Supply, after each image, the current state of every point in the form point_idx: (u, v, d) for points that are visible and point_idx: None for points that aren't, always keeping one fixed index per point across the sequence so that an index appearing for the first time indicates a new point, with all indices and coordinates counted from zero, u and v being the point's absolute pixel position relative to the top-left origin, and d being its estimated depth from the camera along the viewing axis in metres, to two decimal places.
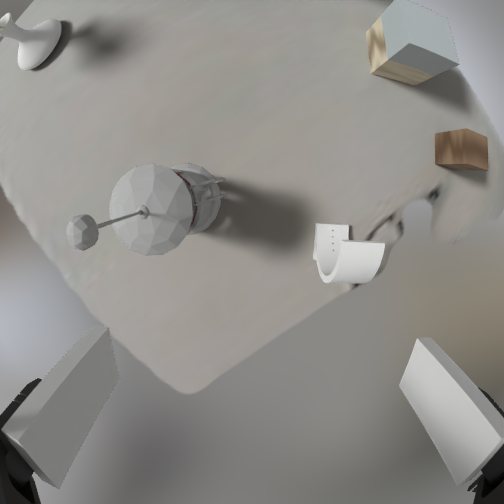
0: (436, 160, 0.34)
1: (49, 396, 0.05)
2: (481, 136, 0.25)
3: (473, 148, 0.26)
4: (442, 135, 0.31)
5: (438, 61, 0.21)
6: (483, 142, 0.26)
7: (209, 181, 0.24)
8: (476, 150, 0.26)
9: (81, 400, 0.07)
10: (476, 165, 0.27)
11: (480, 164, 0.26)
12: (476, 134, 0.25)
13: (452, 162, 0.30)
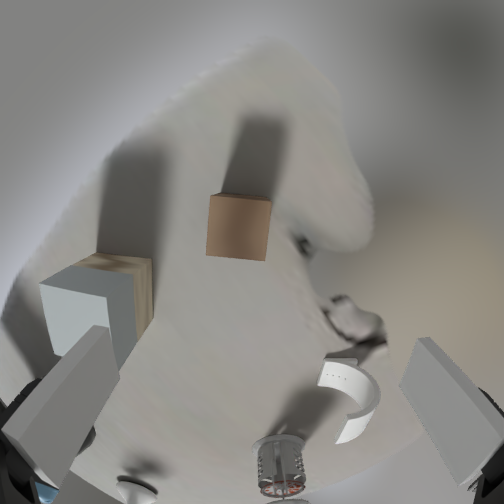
0: None
1: (49, 396, 0.05)
2: (212, 214, 0.22)
3: (237, 242, 0.23)
4: None
5: (117, 315, 0.22)
6: (222, 209, 0.22)
7: (273, 487, 0.28)
8: (240, 234, 0.23)
9: (81, 400, 0.07)
10: (265, 236, 0.23)
11: (262, 225, 0.23)
12: (211, 228, 0.23)
13: None
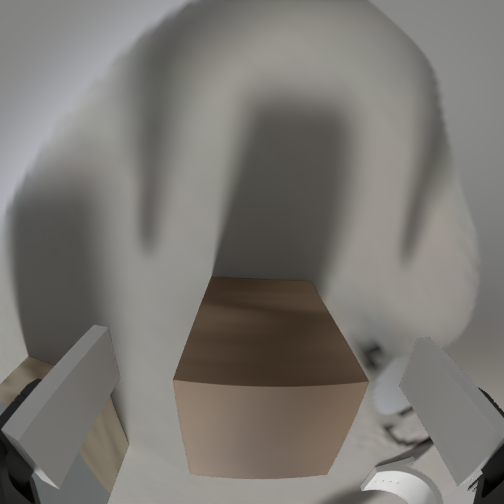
0: None
1: (49, 396, 0.05)
2: (188, 419, 0.06)
3: (266, 461, 0.07)
4: None
5: None
6: (217, 412, 0.06)
7: None
8: (272, 451, 0.07)
9: (81, 400, 0.07)
10: (337, 445, 0.07)
11: (333, 431, 0.07)
12: (192, 443, 0.07)
13: None
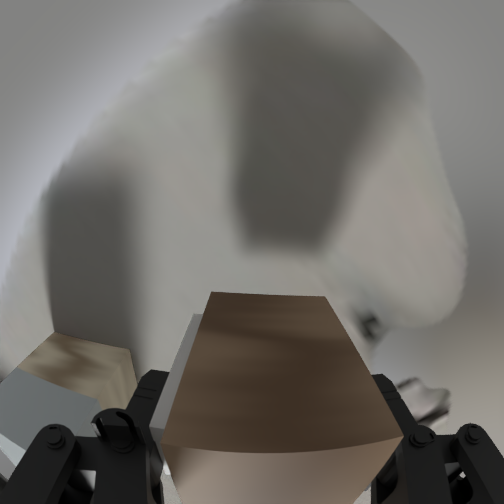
0: None
1: None
2: (182, 478, 0.04)
3: None
4: None
5: None
6: (218, 474, 0.04)
7: None
8: (282, 503, 0.05)
9: None
10: (356, 493, 0.05)
11: (355, 483, 0.05)
12: (189, 496, 0.05)
13: None
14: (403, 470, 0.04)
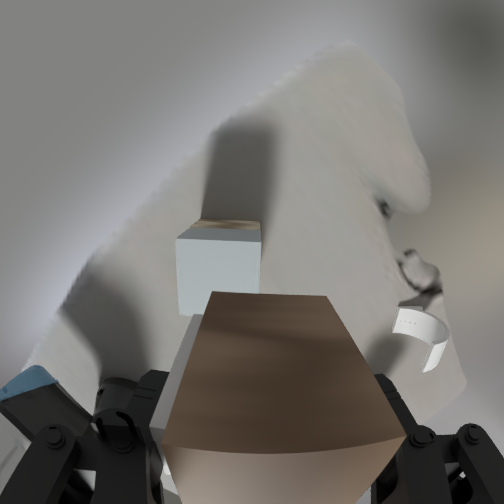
0: None
1: None
2: (183, 479, 0.04)
3: None
4: None
5: None
6: (219, 475, 0.04)
7: None
8: None
9: None
10: (358, 494, 0.05)
11: (357, 483, 0.05)
12: (189, 497, 0.05)
13: None
14: (403, 470, 0.04)
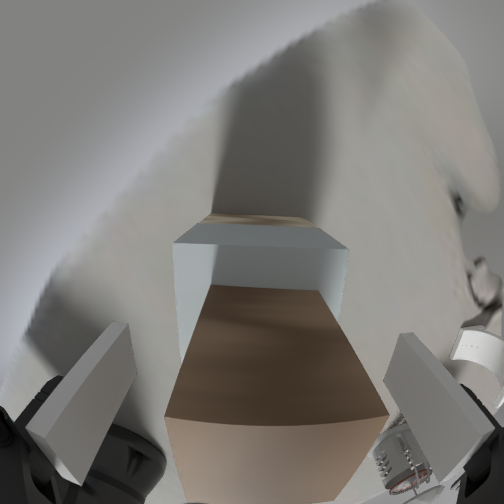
0: None
1: (74, 392, 0.06)
2: (183, 454, 0.05)
3: (269, 492, 0.06)
4: None
5: None
6: (216, 449, 0.05)
7: (418, 480, 0.20)
8: (276, 483, 0.06)
9: (103, 395, 0.07)
10: (347, 475, 0.06)
11: (346, 463, 0.05)
12: (188, 475, 0.05)
13: None
14: (497, 461, 0.03)
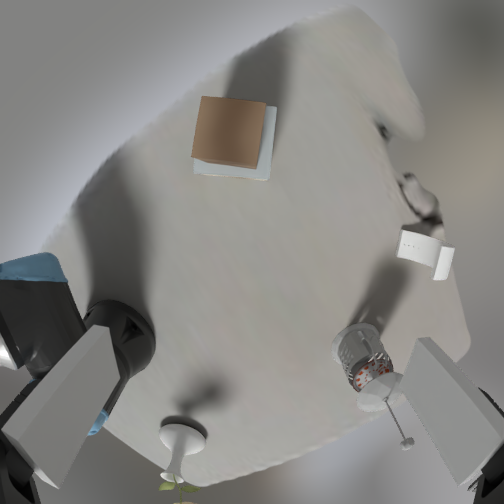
0: (249, 168, 0.27)
1: (49, 396, 0.05)
2: (201, 113, 0.19)
3: (227, 142, 0.20)
4: (209, 162, 0.25)
5: None
6: (213, 109, 0.19)
7: (375, 358, 0.34)
8: (230, 134, 0.19)
9: (81, 400, 0.07)
10: (258, 138, 0.19)
11: (255, 126, 0.19)
12: (199, 128, 0.19)
13: (253, 166, 0.23)
14: None
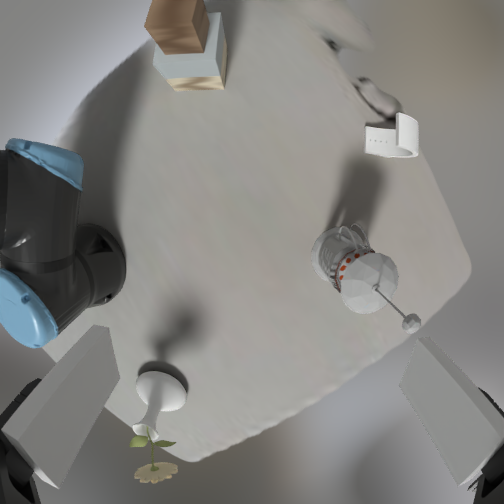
0: (198, 52, 0.26)
1: (49, 396, 0.05)
2: (153, 2, 0.18)
3: (170, 13, 0.18)
4: (163, 47, 0.24)
5: (220, 31, 0.27)
6: None
7: (353, 239, 0.33)
8: (173, 8, 0.18)
9: (81, 400, 0.07)
10: (193, 7, 0.18)
11: (191, 1, 0.18)
12: (151, 10, 0.18)
13: (195, 36, 0.22)
14: None
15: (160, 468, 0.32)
